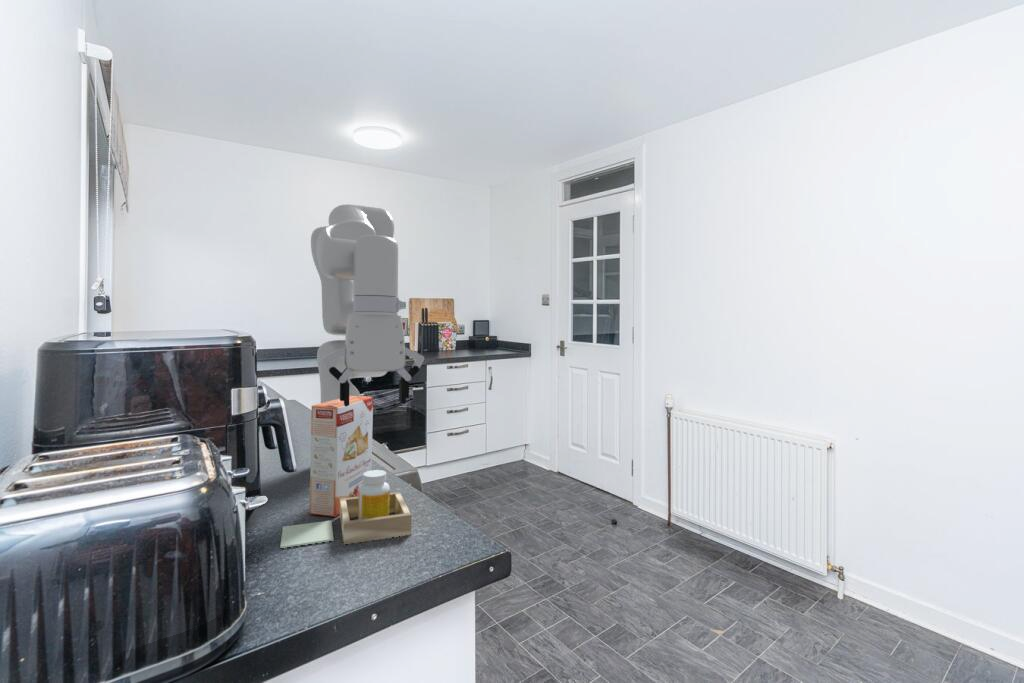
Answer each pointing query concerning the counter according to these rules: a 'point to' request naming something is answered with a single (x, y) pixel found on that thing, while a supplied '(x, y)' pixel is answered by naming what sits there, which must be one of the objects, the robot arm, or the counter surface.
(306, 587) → the counter surface
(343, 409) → the cracker box
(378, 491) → the supplement bottle
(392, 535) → the birch box
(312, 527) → the green mat
